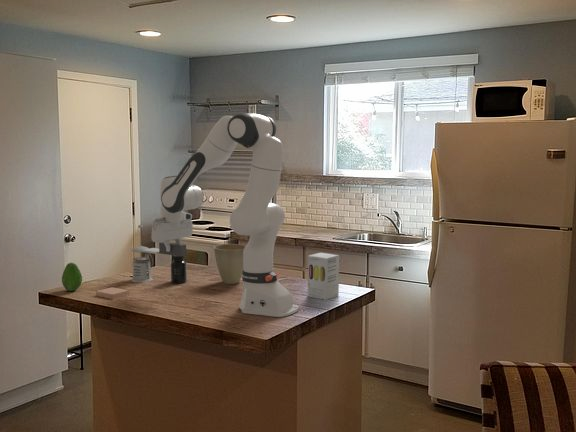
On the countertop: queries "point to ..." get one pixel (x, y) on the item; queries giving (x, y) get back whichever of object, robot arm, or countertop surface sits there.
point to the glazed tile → (112, 293)
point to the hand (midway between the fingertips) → (172, 250)
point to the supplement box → (323, 276)
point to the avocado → (71, 277)
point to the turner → (176, 251)
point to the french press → (141, 265)
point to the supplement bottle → (178, 270)
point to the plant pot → (229, 262)
